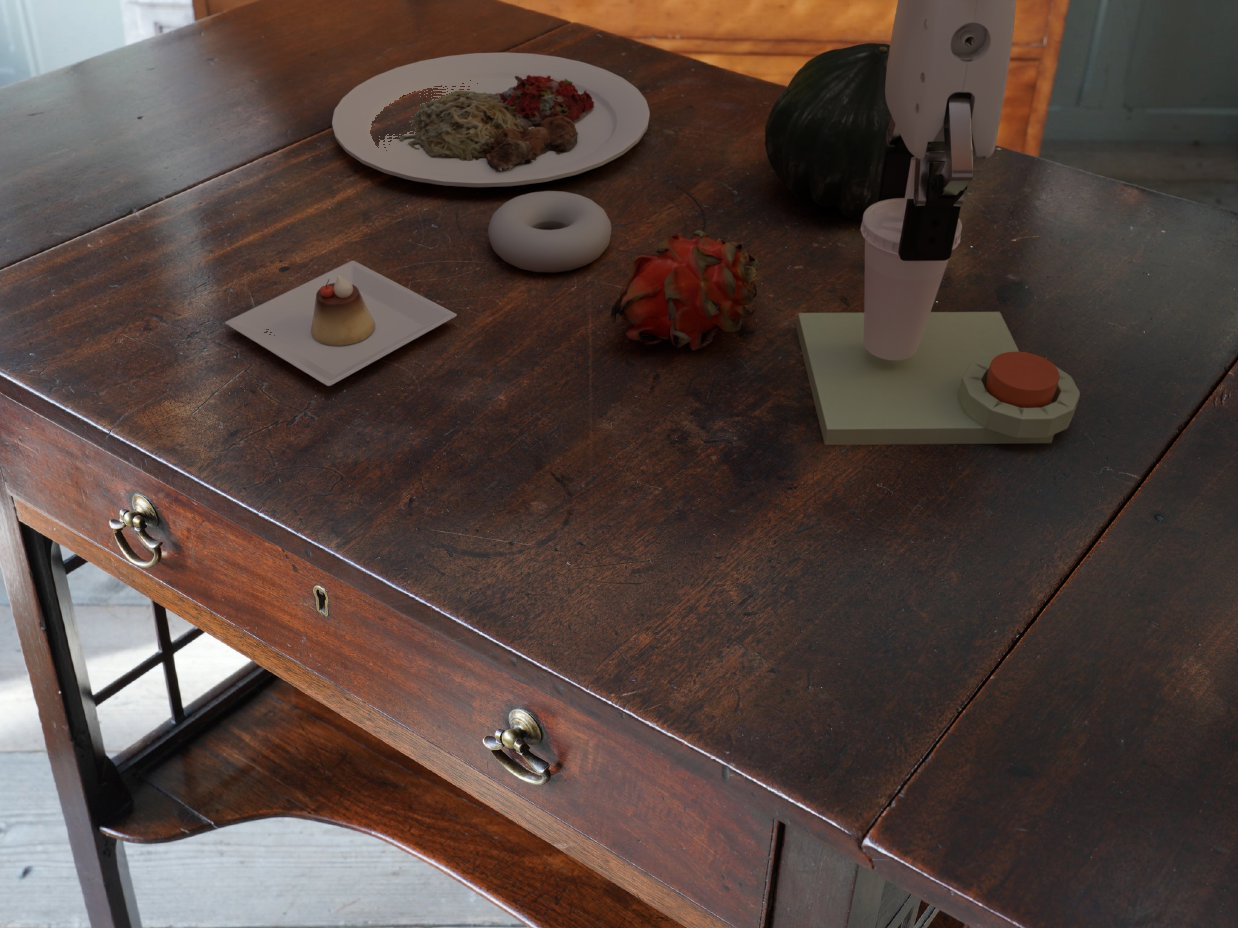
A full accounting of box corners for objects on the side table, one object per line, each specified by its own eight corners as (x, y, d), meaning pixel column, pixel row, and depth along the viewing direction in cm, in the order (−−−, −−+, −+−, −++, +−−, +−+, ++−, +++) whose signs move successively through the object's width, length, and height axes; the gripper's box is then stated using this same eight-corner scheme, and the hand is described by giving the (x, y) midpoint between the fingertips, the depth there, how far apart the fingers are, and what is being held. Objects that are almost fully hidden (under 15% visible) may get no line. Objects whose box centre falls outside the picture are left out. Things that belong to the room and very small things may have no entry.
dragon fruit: (766, 337, 92) (624, 394, 90) (718, 240, 94) (577, 293, 91) (799, 295, 84) (644, 356, 81) (745, 189, 86) (591, 246, 83)
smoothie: (826, 331, 86) (851, 145, 77) (903, 312, 88) (937, 128, 79) (876, 380, 81) (909, 188, 72) (956, 359, 83) (997, 169, 74)
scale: (1018, 327, 91) (1026, 292, 89) (1082, 454, 79) (1093, 418, 77) (796, 328, 91) (800, 293, 89) (827, 457, 79) (832, 420, 77)
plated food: (270, 165, 111) (263, 130, 109) (433, 53, 132) (430, 21, 130) (571, 229, 102) (570, 192, 100) (693, 97, 123) (694, 65, 121)
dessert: (226, 335, 89) (213, 278, 86) (354, 272, 96) (346, 217, 93) (330, 399, 83) (320, 340, 80) (459, 327, 90) (454, 271, 87)
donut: (465, 247, 100) (540, 294, 94) (461, 209, 98) (538, 254, 92) (559, 210, 105) (637, 252, 99) (558, 172, 103) (637, 213, 97)
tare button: (1043, 370, 82) (1048, 350, 81) (1062, 409, 79) (1068, 389, 78) (978, 370, 82) (982, 351, 81) (995, 409, 79) (1000, 390, 78)
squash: (809, 81, 113) (791, -9, 99) (969, 117, 108) (974, 28, 94) (758, 221, 112) (731, 151, 97) (917, 263, 107) (914, 196, 93)
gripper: (1079, -7, 61) (1004, 301, 72) (990, -102, 74) (939, 170, 86) (929, -6, 61) (878, 302, 72) (867, -102, 74) (832, 171, 85)
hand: (912, 228), depth 79 cm, fingers closed on smoothie, 6 cm apart
